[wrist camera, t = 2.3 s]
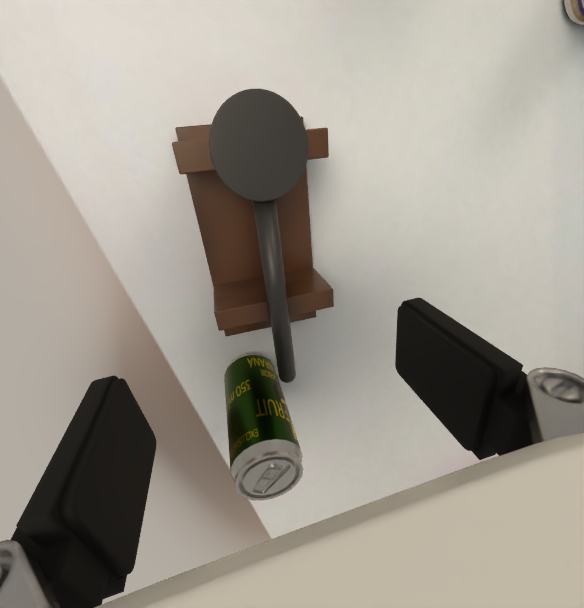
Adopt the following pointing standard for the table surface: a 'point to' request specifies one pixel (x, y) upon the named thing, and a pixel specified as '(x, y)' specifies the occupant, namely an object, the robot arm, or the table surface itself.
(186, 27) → the table surface
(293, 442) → the beer can
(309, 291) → the rack
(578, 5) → the pill bottle
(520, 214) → the table surface
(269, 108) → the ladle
